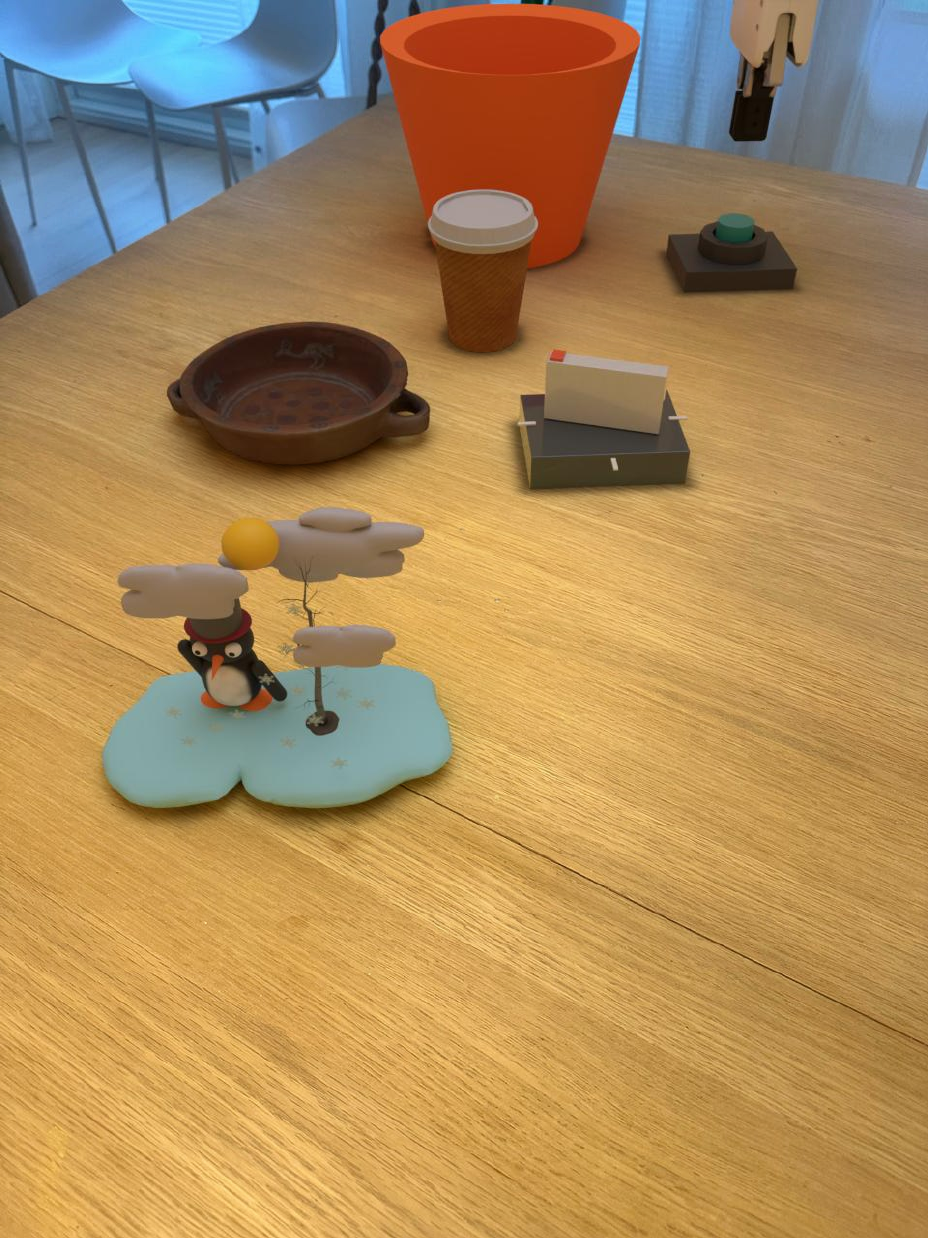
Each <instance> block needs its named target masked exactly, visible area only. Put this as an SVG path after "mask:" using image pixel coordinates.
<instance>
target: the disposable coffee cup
mask: <svg viewBox="0 0 928 1238" xmlns="http://www.w3.org/2000/svg"><path fill="white" fill-rule="evenodd" d="M427 227H428V231H429V233H430V232H431V234H430V236H431V235H432V237H433V239H434V241H435V246H434V248H435V253H436V260H437V267H438V273H439V280H440V286H441V293H442V299H443V300H442V301H443V306H444V313H445V318H446V325H447V331H448V338H449V340H450V342H451V343H452V344H453V345H454V346H455V347H457V348H459V349H460V350H464V351H468V352H472V353H473V352H474V353H492V352H498V351H501V350H504V349H507V348H509V347H510V346H511V345H513V344H514V343H515V342H516V339H517V333H518V328H519V321H520V314H521V308H522V303H523V295H524V290H525V283H526V277H527V272H528V268H527V266H528V259H529V253H530V247H531V240H532V238H533V237H534V233H535V231H536V230H537V228H538V221H537V219H536V217H535V216H534V212H533V207H532V204H531V203H530V202H529V201H528V200H527V199H525V198H523V197H521V196H519V195H516V194H513V193H510V192H505V191H499V190H468V191H462V192H457V193H453V194H450V195H448V196H445V197H443V198H441V199H440V200H439V201H437V202H436V204H435V205H434V207H433V212H432V216H431V217H430V219H429V221H428V223H427Z"/></svg>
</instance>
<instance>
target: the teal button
mask: <svg viewBox="0 0 928 1238" xmlns="http://www.w3.org/2000/svg"><path fill="white" fill-rule="evenodd" d="M716 222H717V228H716V234H715V237H717V238H719V239H721V240H723V241H728V242H747V241H750V240H752V235H753V229H754V225H756V220H755V219H754V218H753V217H751V216H749V215H747V214H743V213H736V212H735V213H734V212H733V213H724V214H722V215H721V214H720V215H719V216H718V218H717V221H716Z"/></svg>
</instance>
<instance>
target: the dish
mask: <svg viewBox="0 0 928 1238" xmlns="http://www.w3.org/2000/svg"><path fill="white" fill-rule="evenodd" d="M408 377H409V368H408V364H407V360H406V358H405V357H404V355H403V354H402V353H401V351H400V350H399V349H397V348H396V347H395V346H394V345H393V344H392V343H391V342H389V341H387V340H386V339H384V338H382V337H380V336H378V335H376V334H374V333H372V332H369V331H367V330H364V329H360V328H357V327H353V326H349V325H344V324H340V323H334V322H328V321H295V322H294V321H293V322H282V323H281V322H280V323H277V324H269V325H264V326H259V327H256V328H252V329H247V330H244V331H242V332H238V333H235V334H233V335H231V336H228V337H226V338H224V339H222V340H220V341H218V342H216V343H215V344H213V345H211V346H210V347H208V348H207V349H205V350H204V351H203V352H201V353H200V354H198V355H197V356H196V357H194V359H193V360H191V362H189V364H188V365H187V366H186V368H185V369H184V370H183V372H182V373H181V375H180V377H179V378H177V379H176V380H174V381H173V382H171V383H170V384H169V386H167V389H166V397H167V399H168V401H169V403H170V406H171V407H172V410H173V411H174V412H175V413H177V414H178V415H180V416H183V417H187V418H191V419H195V420H197V421H198V420H199V421H201V423H202V424H203V427H204V428H205V429H206V431H207V432H208V434H209V435H210V436H211V437H212V439H214V441H215V442H216V443H218V444H219V445H220V446H221V447H222V448H223V449H226V450H227V451H229V452H231V453H233V454H234V455H237V456H240V457H242V458H244V459H247V460H251V461H255V462H261V463H268V464H275V465H276V464H277V465H306V464H307V465H308V464H315V463H321V462H327V461H328V462H329V461H333V460H337V459H340V458H345V457H347V456H350V455H352V454H354V453H357V452H360V451H361V450H363V449H365V448H367V447H369V446H370V445H372V444H374V443H375V442H376V441H378V440H379V439H380V438H403V437H413V436H417V435H421V434H423V433H424V432H426V431H427V430H428V429H429V426H430V421H431V420H430V419H431V405H430V404H429V403H428V401H427V400H426V399H424V398H423V397H422V396H420V395H419V394H416V393H415V392H412V391H410V390H408V389H407V388H406V386H407V385H408ZM399 413H410V414H408V415H403V414H399Z"/></svg>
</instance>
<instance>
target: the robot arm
mask: <svg viewBox="0 0 928 1238" xmlns="http://www.w3.org/2000/svg"><path fill="white" fill-rule="evenodd" d="M818 5H819V0H733V2H732V8H731V14H730V15H731V16H730V25H729V37H730V40H731V42H732V43H733V45H734V46H735V48H736V49H737V50H738V53H739V61H738V69H737V75H736V76H737V77H736V89H737V90H735V92H734V98H733V104H732V110H731V117H730V123H729V129H728V135H729V136H730V137H731V139H732V141H733V142H736V143H738V142H739V143H740V142H741V143H742V142H764V141H766V139H767V137H768V131H769V126H770V120H771V116H772V111H773V105H774V99H775V97H776V94H777V90H778V87H782V86H783V83H784V77H785V69H786V61H787V60H789V61H790V62H791V63H792V65H794V66H795V67H796V68H803V67H804V66H805V65H806V64H807V62H808V60H809V56H810V51H811V45H812V40H813V35H814V28H815V22H816V17H817V10H818Z"/></svg>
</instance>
